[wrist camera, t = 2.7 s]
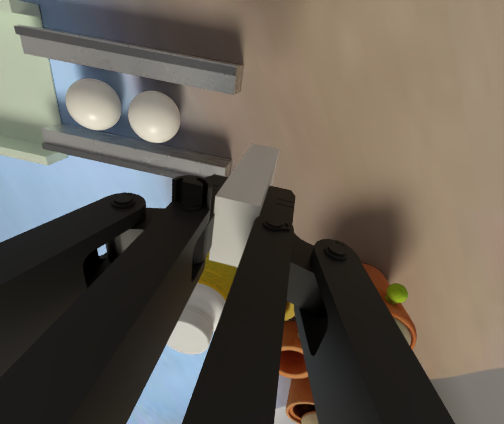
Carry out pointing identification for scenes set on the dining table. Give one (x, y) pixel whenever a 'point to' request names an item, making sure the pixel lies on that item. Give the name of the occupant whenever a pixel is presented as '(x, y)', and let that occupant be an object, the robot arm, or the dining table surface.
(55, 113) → the tray
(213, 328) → the supplement bottle
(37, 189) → the dining table surface
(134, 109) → the chip ball
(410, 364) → the robot arm
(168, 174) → the slot rails
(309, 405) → the toy tea set
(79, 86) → the chip ball
